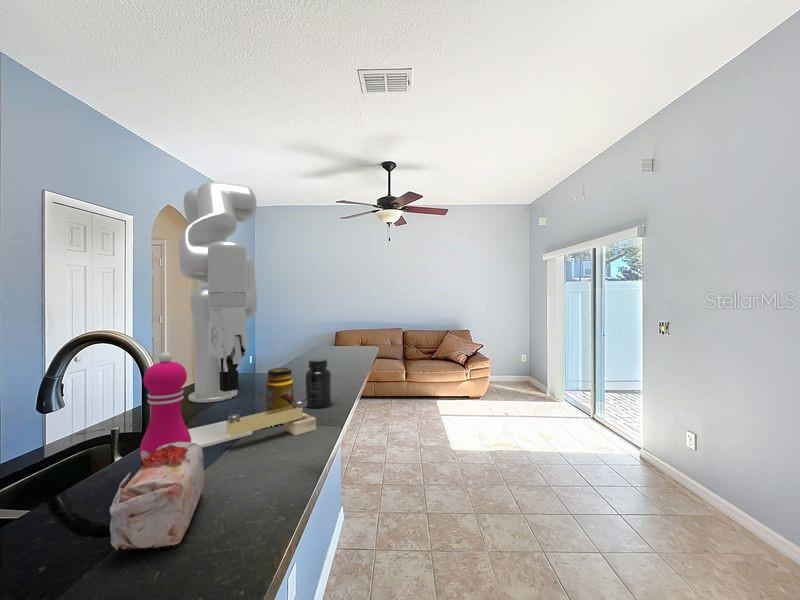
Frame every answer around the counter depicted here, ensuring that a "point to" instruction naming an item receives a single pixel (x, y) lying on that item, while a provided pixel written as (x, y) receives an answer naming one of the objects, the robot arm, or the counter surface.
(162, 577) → the counter surface
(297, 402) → the lever
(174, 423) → the pepper mill
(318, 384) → the supplement bottle
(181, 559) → the counter surface
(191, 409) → the counter surface
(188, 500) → the food item
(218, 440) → the plate
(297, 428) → the block
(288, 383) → the condiment
